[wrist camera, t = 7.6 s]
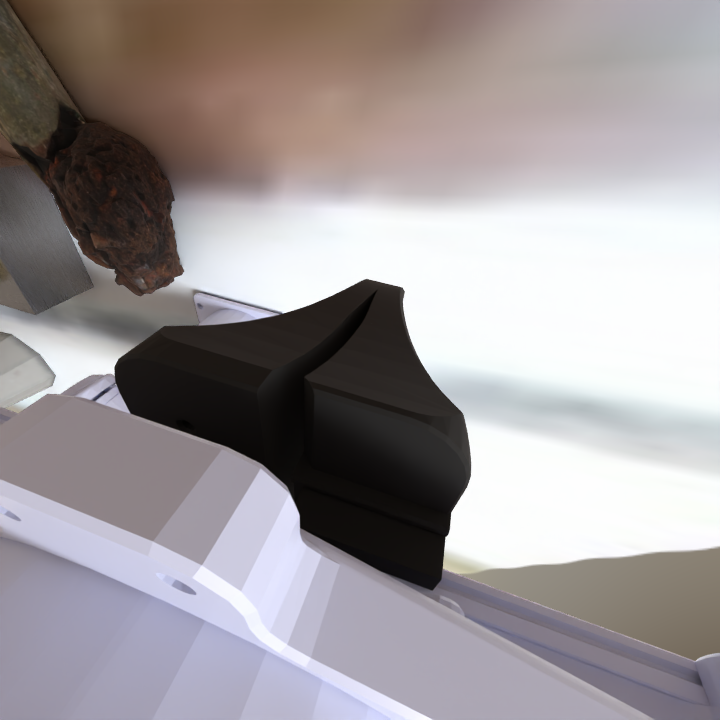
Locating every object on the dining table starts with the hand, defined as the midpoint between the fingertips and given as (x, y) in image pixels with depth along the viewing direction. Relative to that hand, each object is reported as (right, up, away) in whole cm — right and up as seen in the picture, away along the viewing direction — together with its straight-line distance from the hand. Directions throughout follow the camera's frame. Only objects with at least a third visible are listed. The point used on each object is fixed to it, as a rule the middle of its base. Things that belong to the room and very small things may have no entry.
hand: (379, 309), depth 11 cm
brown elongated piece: (-16, +12, +10) cm, 23 cm away
